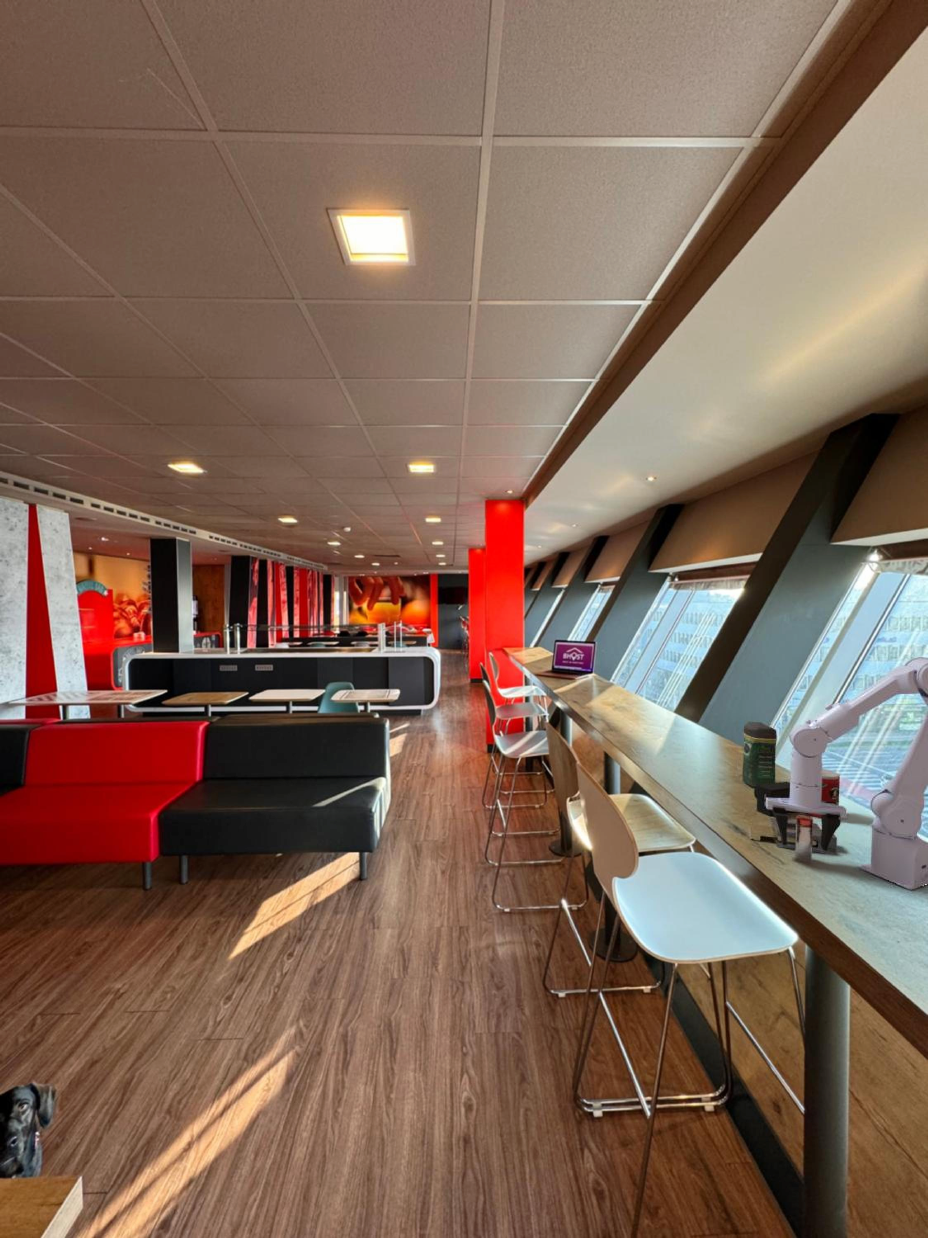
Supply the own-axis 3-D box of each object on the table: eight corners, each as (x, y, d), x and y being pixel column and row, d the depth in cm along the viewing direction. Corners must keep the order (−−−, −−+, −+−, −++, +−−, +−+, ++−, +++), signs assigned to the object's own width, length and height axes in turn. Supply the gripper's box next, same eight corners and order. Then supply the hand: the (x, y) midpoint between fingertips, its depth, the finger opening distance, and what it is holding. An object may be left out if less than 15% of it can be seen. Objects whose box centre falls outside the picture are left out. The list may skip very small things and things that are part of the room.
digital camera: (782, 805, 152) (782, 779, 152) (800, 812, 147) (801, 786, 147) (752, 809, 149) (753, 783, 149) (769, 817, 144) (770, 790, 144)
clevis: (828, 840, 130) (829, 825, 129) (839, 855, 122) (839, 839, 122) (746, 830, 135) (747, 815, 135) (751, 843, 127) (752, 827, 127)
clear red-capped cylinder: (814, 861, 119) (816, 819, 118) (804, 864, 118) (806, 821, 117) (801, 855, 122) (803, 814, 121) (791, 858, 120) (793, 816, 120)
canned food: (822, 821, 141) (823, 777, 141) (795, 809, 149) (797, 768, 149) (846, 818, 143) (847, 775, 143) (818, 807, 151) (820, 766, 151)
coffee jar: (779, 790, 164) (781, 727, 164) (751, 789, 165) (753, 726, 164) (765, 780, 174) (767, 720, 173) (738, 779, 175) (740, 719, 174)
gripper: (839, 781, 121) (837, 843, 121) (764, 773, 125) (762, 833, 126) (850, 791, 114) (848, 857, 114) (770, 782, 119) (768, 846, 119)
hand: (803, 846), depth 120 cm, fingers open, 7 cm apart
